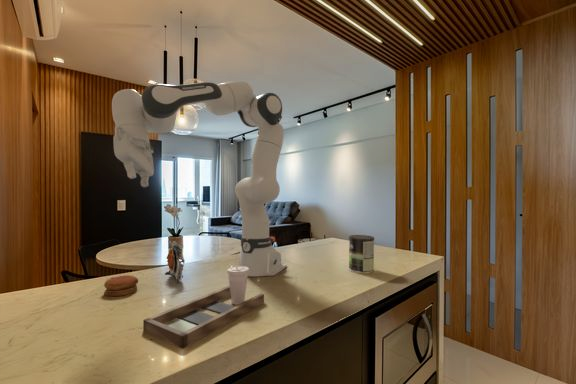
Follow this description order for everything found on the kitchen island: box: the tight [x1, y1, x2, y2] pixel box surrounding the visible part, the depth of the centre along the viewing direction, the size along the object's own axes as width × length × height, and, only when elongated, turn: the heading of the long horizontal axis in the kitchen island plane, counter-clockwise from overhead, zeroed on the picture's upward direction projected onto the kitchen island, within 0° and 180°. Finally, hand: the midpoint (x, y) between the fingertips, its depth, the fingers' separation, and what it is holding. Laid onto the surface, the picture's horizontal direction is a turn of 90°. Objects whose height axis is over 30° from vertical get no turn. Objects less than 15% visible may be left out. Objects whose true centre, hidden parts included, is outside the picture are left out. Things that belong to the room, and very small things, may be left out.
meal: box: [164, 240, 185, 284], centre depth 103 cm, size 15×4×13 cm, turn 36°
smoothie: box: [226, 253, 249, 305], centre depth 80 cm, size 6×6×14 cm
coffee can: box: [348, 234, 375, 274], centre depth 115 cm, size 10×10×14 cm
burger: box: [103, 274, 139, 297], centre depth 88 cm, size 10×9×5 cm
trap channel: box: [142, 285, 265, 349], centre depth 71 cm, size 28×14×2 cm, turn 149°
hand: (138, 182), depth 81 cm, fingers open, 8 cm apart
